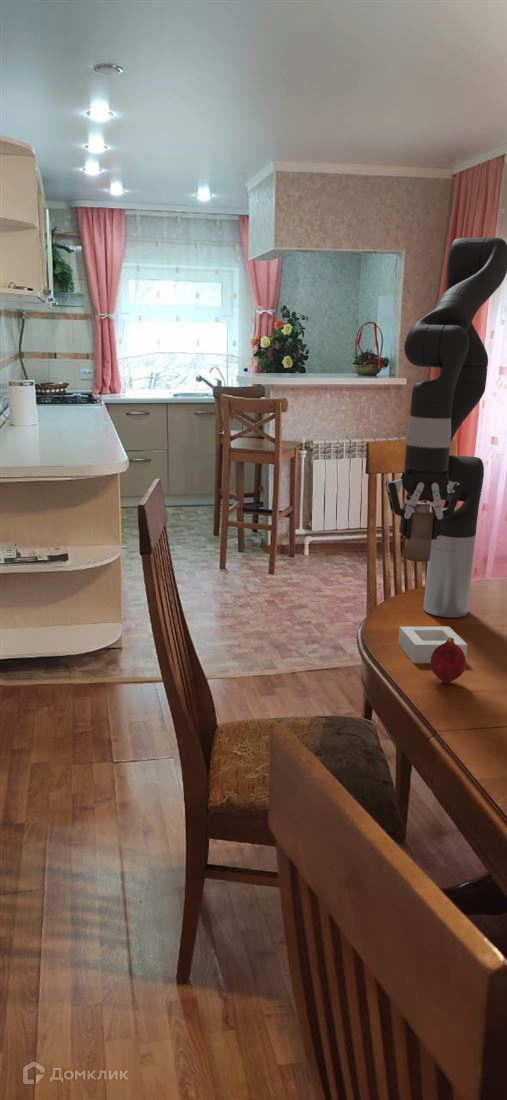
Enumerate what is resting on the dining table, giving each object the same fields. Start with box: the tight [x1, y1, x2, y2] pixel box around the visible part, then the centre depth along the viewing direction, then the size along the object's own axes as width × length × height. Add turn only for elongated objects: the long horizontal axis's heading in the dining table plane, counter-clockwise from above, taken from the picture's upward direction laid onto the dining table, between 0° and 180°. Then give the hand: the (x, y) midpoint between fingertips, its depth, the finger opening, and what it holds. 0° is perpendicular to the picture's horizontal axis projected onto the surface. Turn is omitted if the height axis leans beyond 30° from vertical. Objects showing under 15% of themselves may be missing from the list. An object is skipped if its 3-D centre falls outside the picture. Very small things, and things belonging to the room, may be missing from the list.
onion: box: [430, 637, 467, 684], centre depth 140 cm, size 6×6×8 cm
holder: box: [397, 626, 468, 664], centre depth 154 cm, size 10×10×4 cm
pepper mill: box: [404, 502, 434, 563], centre depth 150 cm, size 4×4×10 cm
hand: (419, 537), depth 151 cm, fingers closed on pepper mill, 4 cm apart
